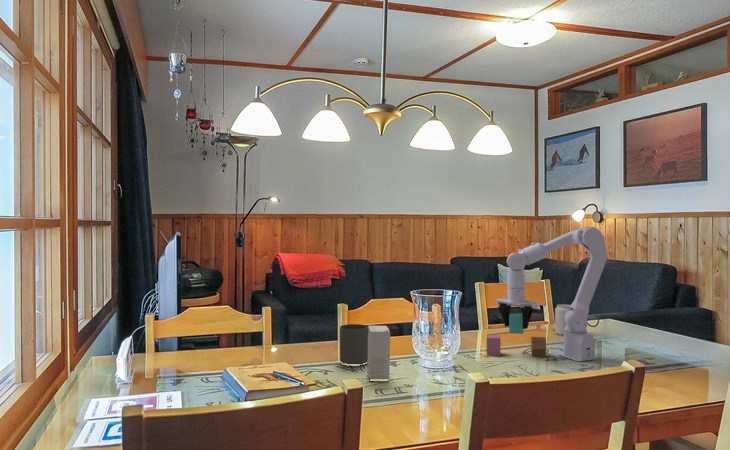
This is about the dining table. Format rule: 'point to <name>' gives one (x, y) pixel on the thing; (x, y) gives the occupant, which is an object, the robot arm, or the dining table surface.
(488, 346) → the plum block
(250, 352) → the dining table surface
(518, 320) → the teal block
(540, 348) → the walnut block
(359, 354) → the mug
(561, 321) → the can
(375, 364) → the skincare box
